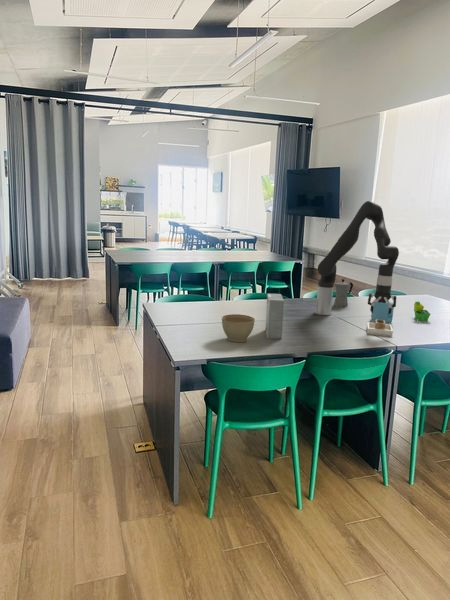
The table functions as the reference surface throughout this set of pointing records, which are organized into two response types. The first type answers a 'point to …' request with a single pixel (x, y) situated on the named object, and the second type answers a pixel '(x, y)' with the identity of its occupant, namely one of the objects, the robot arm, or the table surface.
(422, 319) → the fruit basket
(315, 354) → the table surface
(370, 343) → the table surface
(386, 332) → the large crate
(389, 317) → the blue rounded block
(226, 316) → the planter bowl
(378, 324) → the small crate
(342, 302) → the coffeepot
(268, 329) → the hard drive box
